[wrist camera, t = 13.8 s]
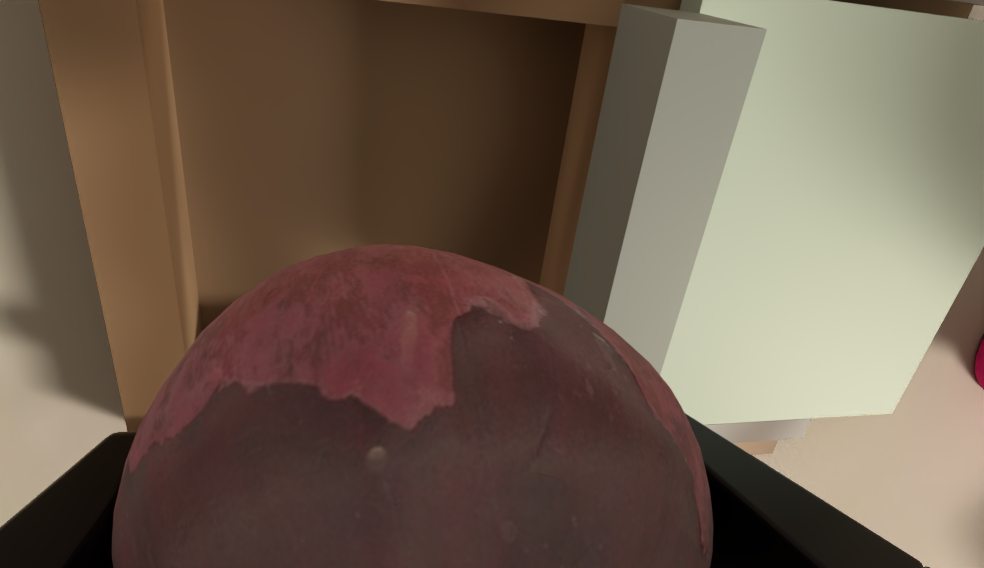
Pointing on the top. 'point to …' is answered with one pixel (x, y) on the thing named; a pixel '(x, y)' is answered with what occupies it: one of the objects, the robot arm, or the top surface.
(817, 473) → the top surface
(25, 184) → the top surface
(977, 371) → the pepper mill
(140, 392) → the wooden container
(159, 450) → the vegetable
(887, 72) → the lid
